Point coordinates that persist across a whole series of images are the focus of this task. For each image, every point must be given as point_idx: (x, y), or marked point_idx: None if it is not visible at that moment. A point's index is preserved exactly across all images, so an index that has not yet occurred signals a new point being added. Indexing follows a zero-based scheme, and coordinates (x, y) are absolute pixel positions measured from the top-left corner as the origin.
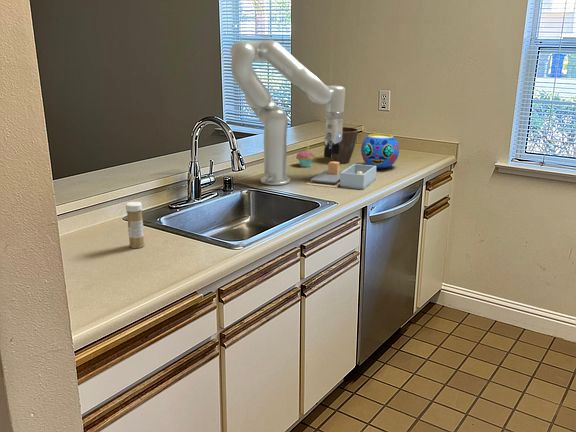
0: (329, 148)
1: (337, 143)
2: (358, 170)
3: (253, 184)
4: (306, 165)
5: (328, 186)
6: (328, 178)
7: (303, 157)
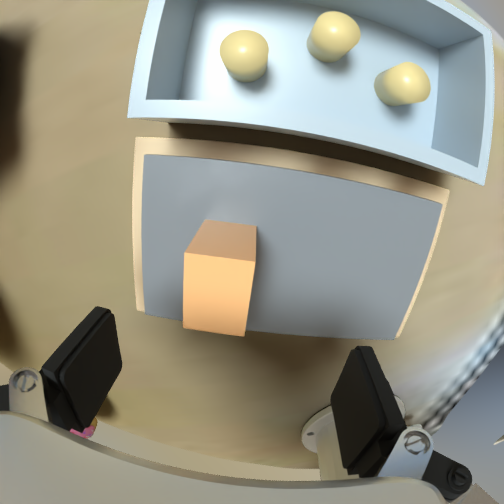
0: (415, 437)
1: (48, 407)
2: (168, 77)
3: None
4: None
5: (438, 231)
6: (372, 259)
7: None
